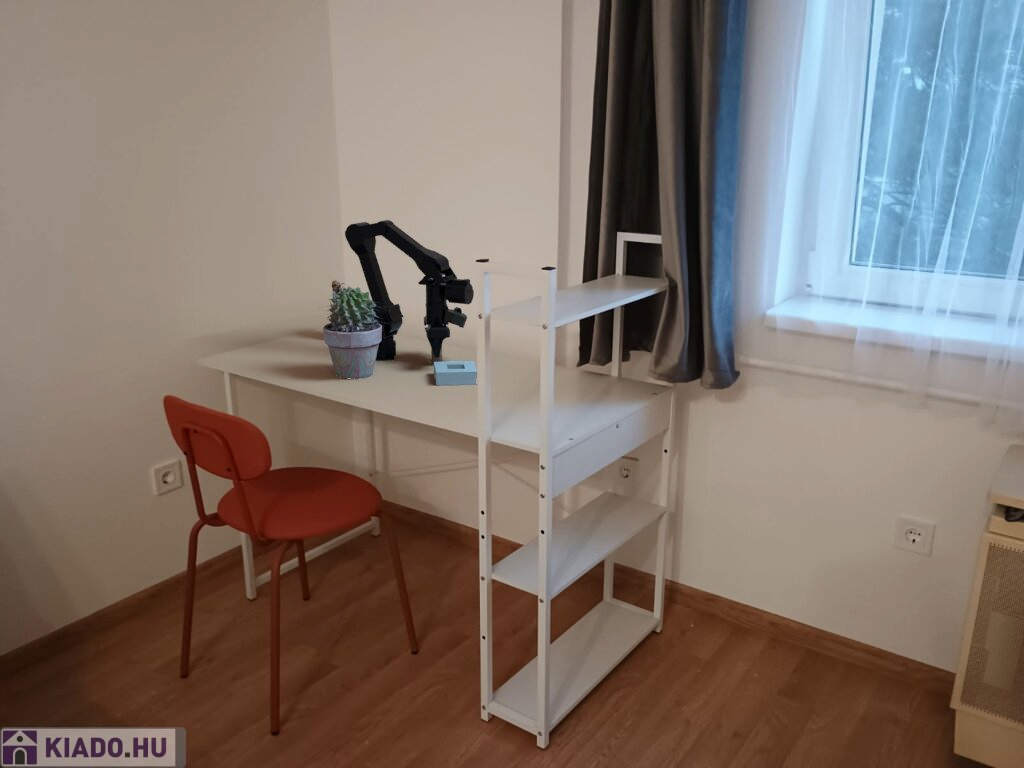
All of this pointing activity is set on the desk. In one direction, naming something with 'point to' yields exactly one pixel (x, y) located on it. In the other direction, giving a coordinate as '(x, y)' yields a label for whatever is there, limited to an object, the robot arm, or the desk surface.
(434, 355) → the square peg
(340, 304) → the potted plant
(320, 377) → the desk surface
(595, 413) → the desk surface
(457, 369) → the socket block
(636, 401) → the desk surface
